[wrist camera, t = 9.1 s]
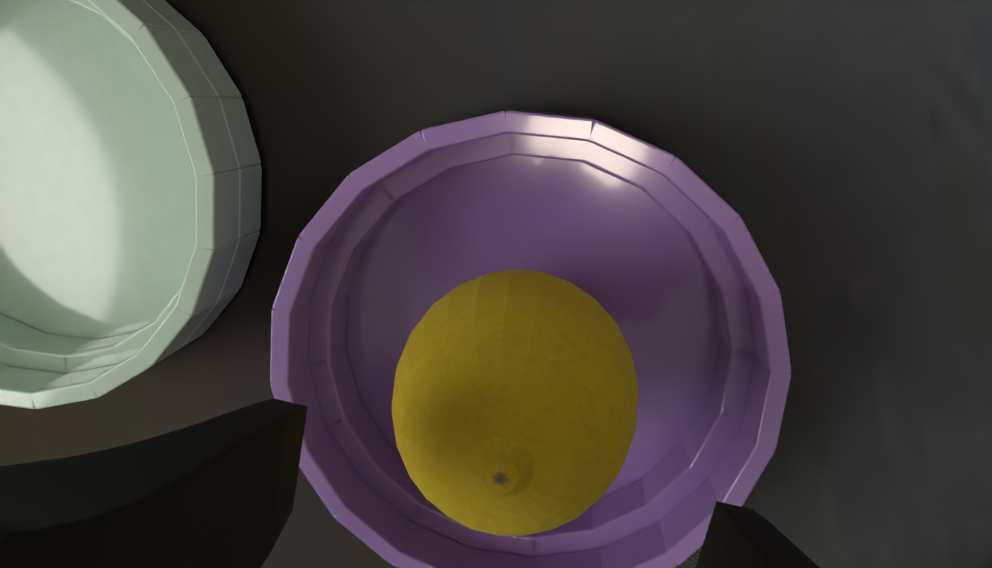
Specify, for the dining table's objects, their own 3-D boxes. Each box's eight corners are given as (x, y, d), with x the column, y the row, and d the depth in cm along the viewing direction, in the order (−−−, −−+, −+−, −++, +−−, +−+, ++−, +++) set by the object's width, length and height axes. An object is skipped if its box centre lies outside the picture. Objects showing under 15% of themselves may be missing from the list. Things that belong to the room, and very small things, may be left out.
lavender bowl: (542, 605, 23) (537, 688, 20) (233, 344, 22) (174, 386, 19) (852, 327, 20) (907, 371, 17) (511, 8, 19) (498, -11, 16)
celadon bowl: (121, 439, 23) (52, 490, 20) (-186, 188, 22) (-307, 202, 19) (348, 158, 21) (309, 168, 18) (8, -143, 20) (-97, -189, 16)
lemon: (419, 410, 22) (334, 581, 14) (443, 227, 20) (364, 303, 13) (605, 445, 21) (624, 639, 14) (643, 260, 20) (688, 360, 12)
